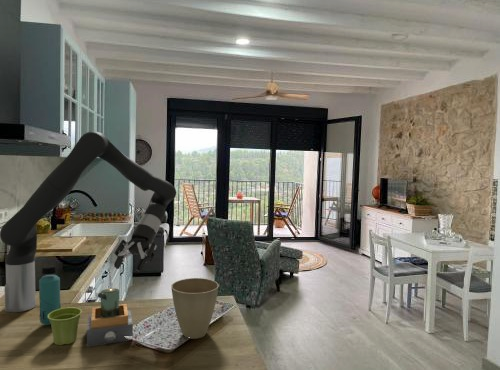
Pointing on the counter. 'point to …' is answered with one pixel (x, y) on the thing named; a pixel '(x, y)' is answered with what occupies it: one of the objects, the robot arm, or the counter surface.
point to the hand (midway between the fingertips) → (126, 269)
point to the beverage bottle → (49, 293)
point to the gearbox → (109, 327)
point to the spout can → (109, 302)
